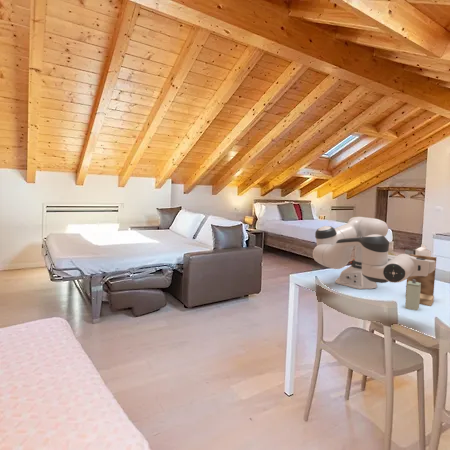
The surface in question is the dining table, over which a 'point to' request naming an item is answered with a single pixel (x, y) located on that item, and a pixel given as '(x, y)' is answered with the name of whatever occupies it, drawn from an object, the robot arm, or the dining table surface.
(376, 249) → the robot arm
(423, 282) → the brown tall block
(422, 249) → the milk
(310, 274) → the dining table surface
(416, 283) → the olive rectangular canister
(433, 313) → the dining table surface
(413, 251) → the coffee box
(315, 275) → the dining table surface
